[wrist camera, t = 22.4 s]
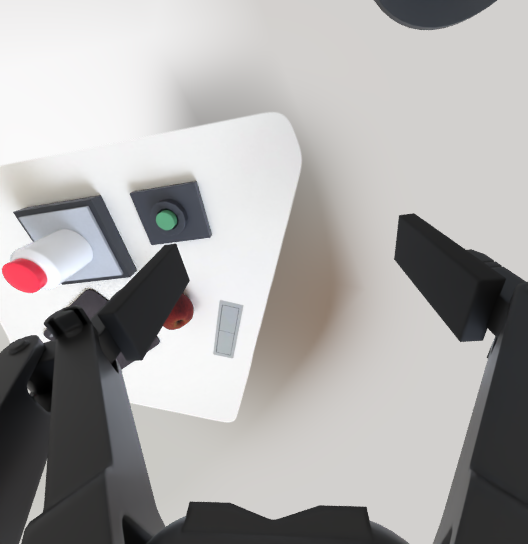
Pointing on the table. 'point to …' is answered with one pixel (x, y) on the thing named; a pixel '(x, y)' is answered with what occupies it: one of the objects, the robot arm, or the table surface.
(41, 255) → the pill bottle
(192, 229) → the button base
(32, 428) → the robot arm
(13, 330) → the table surface
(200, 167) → the table surface
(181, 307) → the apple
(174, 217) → the green button
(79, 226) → the scale
